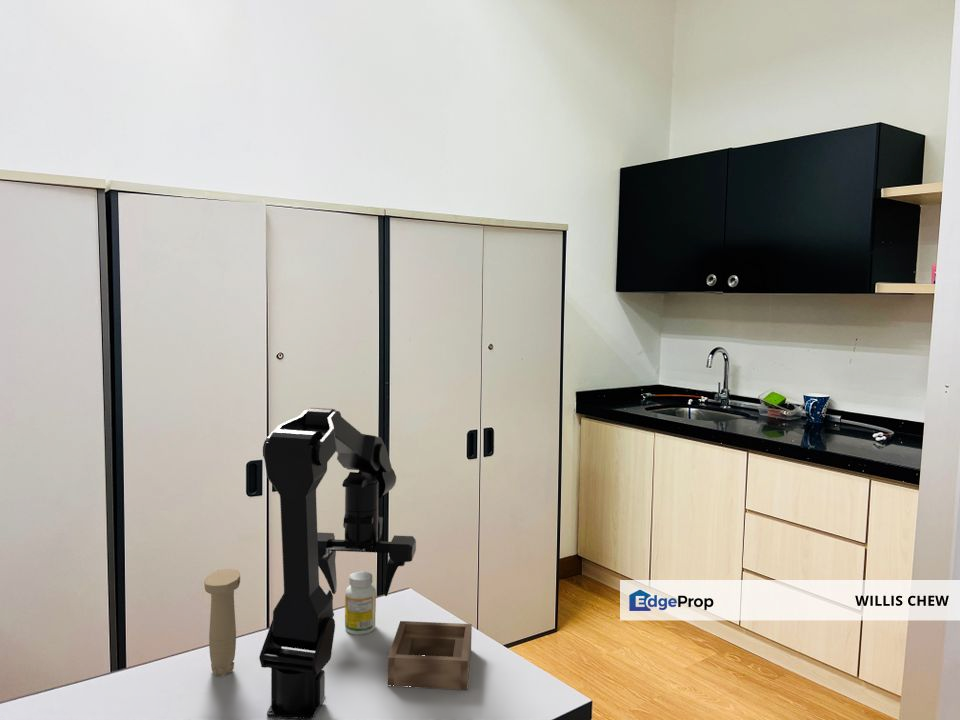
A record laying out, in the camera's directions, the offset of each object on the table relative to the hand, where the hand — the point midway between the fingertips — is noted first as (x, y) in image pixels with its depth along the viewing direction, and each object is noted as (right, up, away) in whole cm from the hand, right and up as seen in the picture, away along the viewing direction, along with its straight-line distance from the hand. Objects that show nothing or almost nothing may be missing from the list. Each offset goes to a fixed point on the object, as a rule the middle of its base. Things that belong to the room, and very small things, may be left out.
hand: (360, 594), depth 120 cm
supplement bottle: (0, -7, +1) cm, 7 cm away
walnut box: (+13, -8, -12) cm, 19 cm away
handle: (-19, -7, -15) cm, 25 cm away
